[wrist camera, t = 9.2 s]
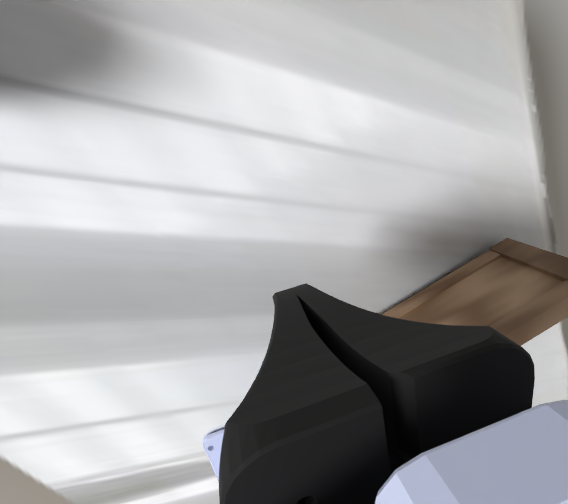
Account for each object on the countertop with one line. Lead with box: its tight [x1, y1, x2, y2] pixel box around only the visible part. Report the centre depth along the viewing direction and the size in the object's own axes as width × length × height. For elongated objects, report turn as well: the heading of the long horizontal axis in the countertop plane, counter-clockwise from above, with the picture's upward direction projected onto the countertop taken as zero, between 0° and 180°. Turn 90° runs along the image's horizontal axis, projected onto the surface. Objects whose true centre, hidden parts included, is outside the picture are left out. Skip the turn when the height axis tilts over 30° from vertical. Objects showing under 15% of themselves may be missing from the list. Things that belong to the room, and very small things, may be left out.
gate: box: [381, 238, 568, 346], centre depth 21 cm, size 15×2×7 cm, turn 117°
